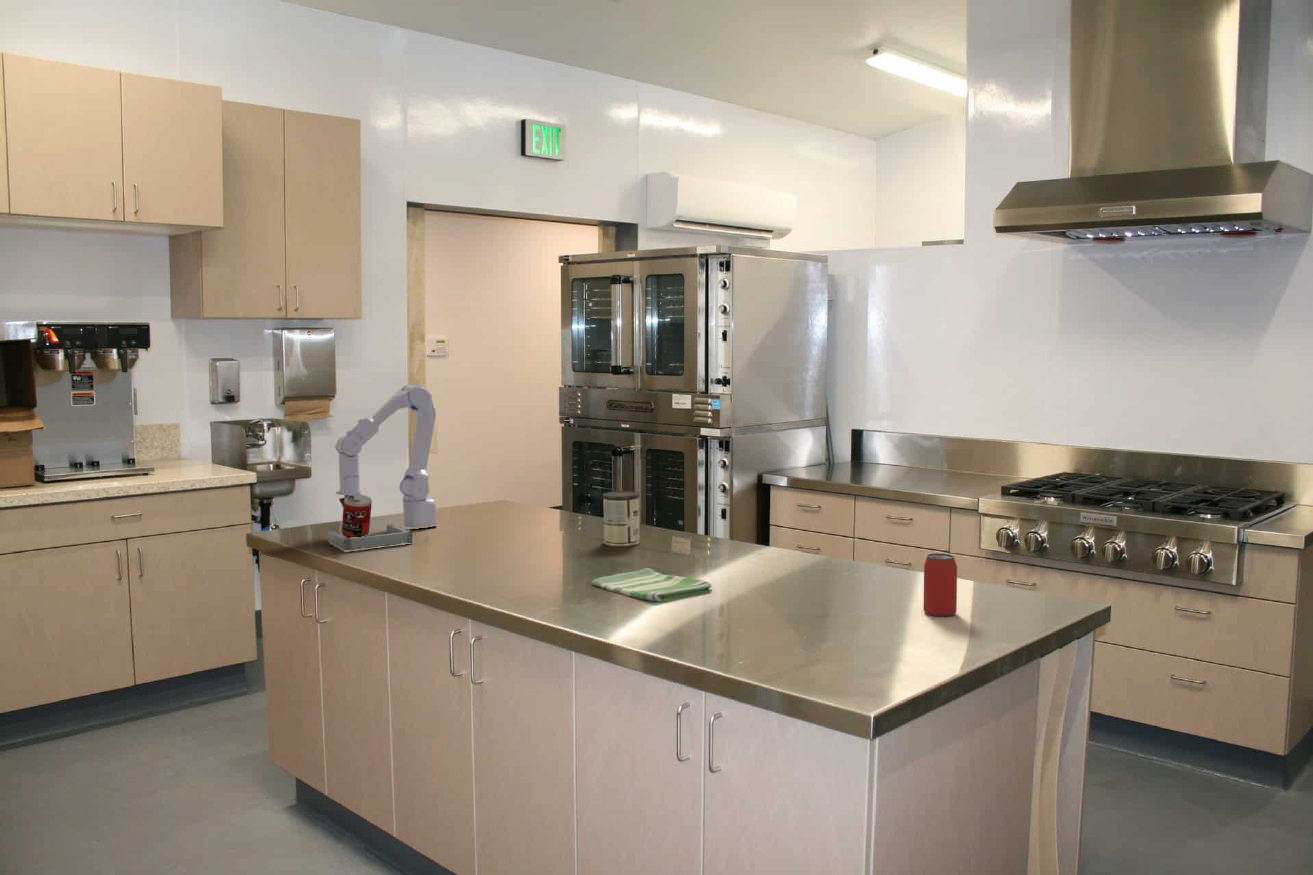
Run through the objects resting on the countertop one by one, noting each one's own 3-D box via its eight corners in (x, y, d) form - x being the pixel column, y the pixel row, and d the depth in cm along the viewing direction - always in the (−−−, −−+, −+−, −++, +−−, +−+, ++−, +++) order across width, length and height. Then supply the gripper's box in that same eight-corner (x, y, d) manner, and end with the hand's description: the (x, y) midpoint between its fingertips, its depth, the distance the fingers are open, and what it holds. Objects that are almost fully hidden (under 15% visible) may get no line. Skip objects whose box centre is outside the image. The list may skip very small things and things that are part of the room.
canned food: (335, 534, 296) (338, 499, 293) (352, 525, 303) (355, 492, 300) (358, 541, 294) (361, 507, 291) (374, 532, 301) (377, 498, 298)
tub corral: (392, 535, 300) (391, 523, 300) (412, 544, 287) (412, 532, 287) (327, 543, 290) (327, 531, 289) (345, 552, 276) (345, 540, 276)
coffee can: (606, 539, 292) (605, 490, 290) (641, 539, 291) (641, 490, 289) (600, 546, 281) (600, 496, 280) (637, 546, 280) (637, 496, 279)
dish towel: (649, 575, 247) (649, 564, 247) (714, 593, 229) (714, 581, 229) (590, 587, 236) (590, 575, 236) (654, 606, 218) (654, 594, 218)
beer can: (931, 607, 213) (932, 551, 212) (961, 612, 209) (962, 555, 208) (917, 614, 208) (918, 556, 207) (948, 619, 204) (949, 560, 202)
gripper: (328, 474, 304) (330, 519, 305) (343, 479, 292) (345, 526, 293) (352, 472, 308) (353, 516, 309) (367, 477, 296) (369, 523, 297)
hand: (351, 521), depth 301 cm, fingers closed
